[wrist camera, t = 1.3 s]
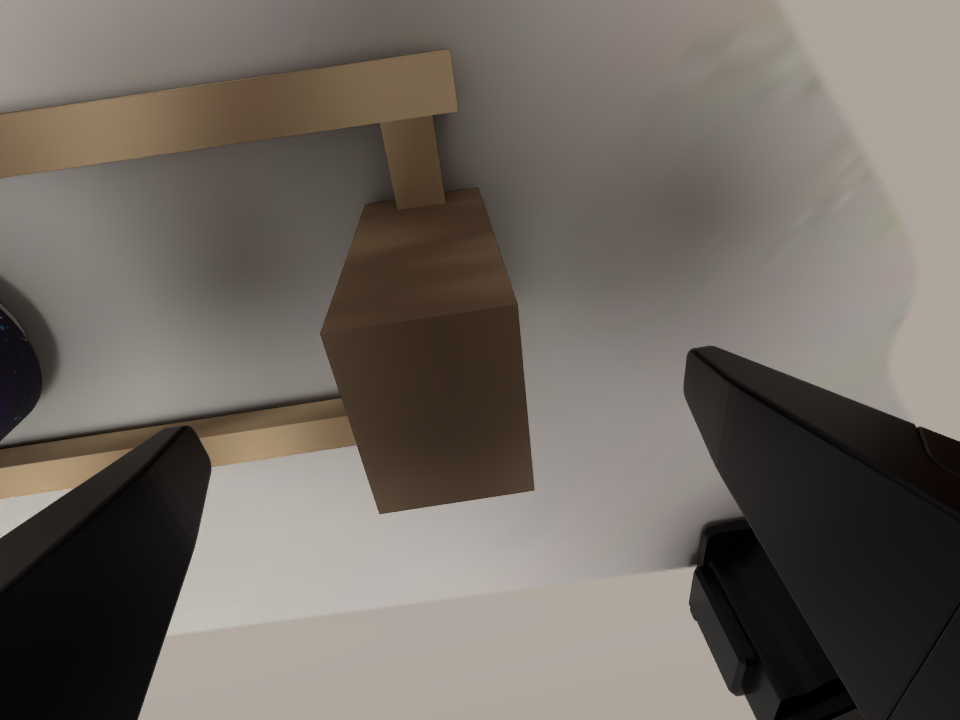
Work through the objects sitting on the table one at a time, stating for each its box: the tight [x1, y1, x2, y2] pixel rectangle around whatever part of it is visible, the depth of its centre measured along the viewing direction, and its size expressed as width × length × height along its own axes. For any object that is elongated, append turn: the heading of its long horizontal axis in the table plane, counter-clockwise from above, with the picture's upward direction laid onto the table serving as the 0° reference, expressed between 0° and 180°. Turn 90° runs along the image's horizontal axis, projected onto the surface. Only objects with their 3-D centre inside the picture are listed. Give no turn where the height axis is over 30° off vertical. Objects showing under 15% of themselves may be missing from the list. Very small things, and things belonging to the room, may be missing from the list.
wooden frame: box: [0, 49, 534, 514], centre depth 12 cm, size 21×10×7 cm, turn 97°
